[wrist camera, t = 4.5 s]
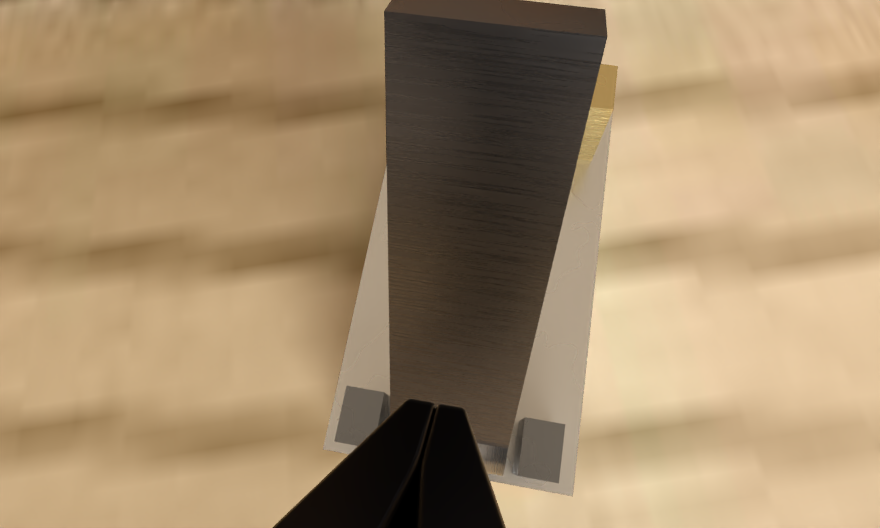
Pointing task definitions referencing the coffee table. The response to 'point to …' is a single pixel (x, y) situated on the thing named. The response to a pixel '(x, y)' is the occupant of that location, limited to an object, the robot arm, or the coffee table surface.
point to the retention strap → (479, 192)
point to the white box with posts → (555, 345)
